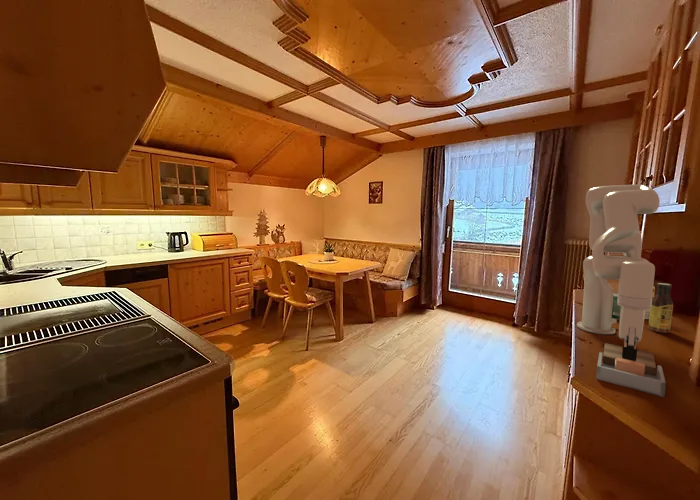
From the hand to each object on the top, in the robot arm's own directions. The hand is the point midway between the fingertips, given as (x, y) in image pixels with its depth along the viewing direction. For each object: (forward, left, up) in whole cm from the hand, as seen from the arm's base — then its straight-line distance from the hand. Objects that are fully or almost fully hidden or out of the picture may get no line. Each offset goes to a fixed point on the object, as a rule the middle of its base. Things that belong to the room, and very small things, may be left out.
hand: (628, 358), depth 92 cm
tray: (+5, +3, -4) cm, 7 cm away
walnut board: (-6, -3, -4) cm, 8 cm away
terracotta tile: (+5, +3, -1) cm, 5 cm away
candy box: (-63, -31, -4) cm, 70 cm away
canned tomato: (-51, -34, -4) cm, 61 cm away
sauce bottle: (-49, -17, -4) cm, 52 cm away
